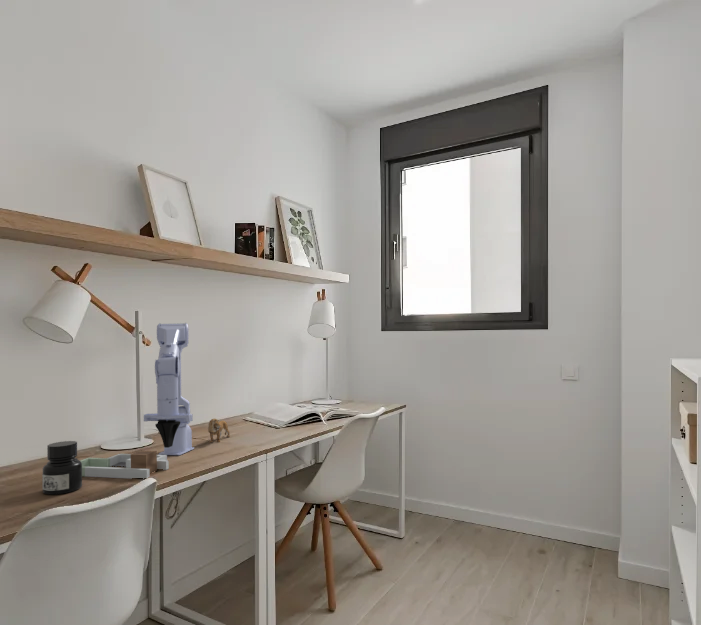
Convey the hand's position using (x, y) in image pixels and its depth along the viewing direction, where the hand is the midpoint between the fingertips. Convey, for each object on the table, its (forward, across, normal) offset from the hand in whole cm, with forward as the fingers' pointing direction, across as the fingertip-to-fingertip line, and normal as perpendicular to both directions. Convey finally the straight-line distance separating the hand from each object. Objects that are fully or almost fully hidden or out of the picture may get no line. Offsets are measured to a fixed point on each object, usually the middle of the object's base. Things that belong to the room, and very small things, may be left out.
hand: (168, 446), depth 142 cm
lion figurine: (+8, -7, +44) cm, 45 cm away
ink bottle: (+8, -20, -17) cm, 27 cm away
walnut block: (+8, -8, 0) cm, 11 cm away
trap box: (+8, -17, +3) cm, 19 cm away
